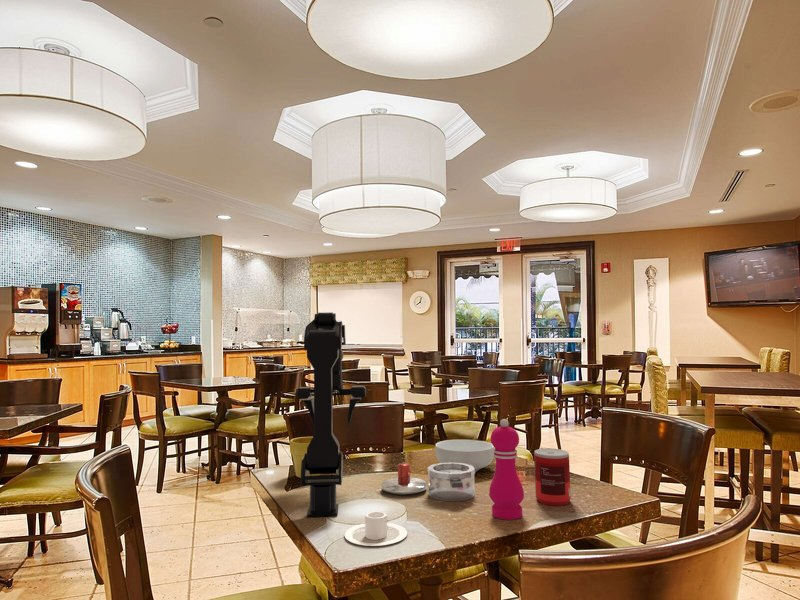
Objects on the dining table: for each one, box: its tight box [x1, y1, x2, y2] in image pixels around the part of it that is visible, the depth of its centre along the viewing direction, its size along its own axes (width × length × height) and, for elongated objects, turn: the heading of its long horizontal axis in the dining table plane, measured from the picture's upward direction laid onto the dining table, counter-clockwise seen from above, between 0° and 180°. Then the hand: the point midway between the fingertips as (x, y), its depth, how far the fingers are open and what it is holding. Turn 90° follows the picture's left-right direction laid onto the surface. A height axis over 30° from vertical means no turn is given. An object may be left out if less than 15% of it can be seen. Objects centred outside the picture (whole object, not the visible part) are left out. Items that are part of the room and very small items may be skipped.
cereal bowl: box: [434, 439, 495, 473], centre depth 151 cm, size 17×17×7 cm
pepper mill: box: [488, 418, 525, 521], centre depth 113 cm, size 7×7×20 cm
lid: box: [381, 462, 428, 495], centre depth 132 cm, size 11×11×6 cm
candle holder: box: [344, 511, 408, 547], centre depth 102 cm, size 12×12×4 cm
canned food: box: [533, 447, 571, 507], centre depth 122 cm, size 8×8×11 cm
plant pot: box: [289, 436, 321, 479], centre depth 148 cm, size 10×10×10 cm
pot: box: [427, 462, 476, 502], centre depth 128 cm, size 16×11×6 cm
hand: (331, 424), depth 145 cm, fingers open, 9 cm apart
